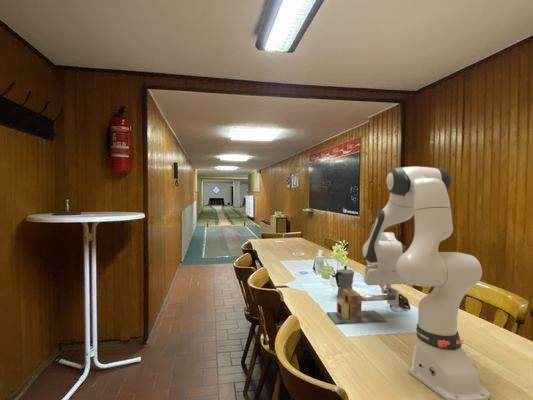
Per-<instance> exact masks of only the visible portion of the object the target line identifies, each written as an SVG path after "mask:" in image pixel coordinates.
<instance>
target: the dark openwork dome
mask: <svg viewBox="0 0 533 400" xmlns="http://www.w3.org/2000/svg"><path fill="white" fill-rule="evenodd" d="M389 307H390V309H391V308H394V307H393V306H391V305H390V304H389ZM400 307H408V309H409V310H411V305H410V301H409V299H408V298H407V297H406V296H405V295H403V294H402V293H399V308H400Z"/></svg>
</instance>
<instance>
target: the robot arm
mask: <svg viewBox="0 0 533 400" xmlns="http://www.w3.org/2000/svg"><path fill="white" fill-rule="evenodd" d="M385 182H386V188H387V190H388V192H389V196H388V201H387V204H386V205H385V206H384V207H383V208H382V209H381V210H379V211H378V212H377V214H376V216H375V218H374V221H373V223H372V225H371V228H370V230H369V233H368V236H367V239H366V240H365V242H364V244H363V245H362V256H363V258H364V260H365V261H366V260H367V261H368V262H370V263H376V265H368V266H367V267H368V268H367V267H366V266H365V267H364V277H363V282H364V284H366V285H367V286H379V288H380V290H381V293H382V295H387V294H388V290H389V289H390V287H392V286H391V285H405V284H407V285H412V286H417V287H433V290H431V291H430V293H428V294H427V295H425V296H423V297H422V298H421V299H420V300H419V302H418V306H417V308H418V309H417V310H418V311H417V312H418V313H417V315H418V316H417V322H418V323H417V324H416V328H415V329H416V337H417V338H416V339H417V340H416V342H415V344H414V346H413V353H412V360H411V366H410V367H409V368H408V373H409V374H411V376H413V377H414V378H416V379H417V380H418V381H420V382H421V383H423V384H424V385H425V386H426V387H428V388H429V389H431V390H432V391H434V392H435V393H436V394H438V395H439V396H440V397H442V398H443V399H444V400H489V399H490V398H491V393H490V392H489V391H488V389H486V387H484V386H483V385H482V384H481V380H480V374H479V371H478V370H477V364H476V363H475V362H473V361H471V360H470V357H469V356H468V355H467V353H466V352H465V351H464V349H463V348H462V345H464V340H463V339H462V340H461V338H460V335H459V331H458V315H459V309H460V305H461V302H462V300H463V299H464V298H465V295H466V294H467V292H469V290H470V289H471V288H472V287H474V286H475V285H476V284H478V283H479V282H480V281H481V280H482V279H481V278H482V276H483V268H482V264H481V263H480V261H479V260H478V259H477V257H476V256H474V255H471V254H469V253H468V254H467V253H464V252H457V251H449V252H448V251H439V246H440V243H441V242H442V241H445V240H446V239H448V238H450V236H451V235H452V234H453V232H454V225H453V216H452V208H451V207H452V206H451V203H450V202H451V201H450V197H449V193H448V191H449V190H450V188H451V186H452V176H451V175H450V173H449V171H448V170H447V169H445V168H443V167H429V166H418V165H417V166H416V165H415V166H414V165H413V166H403V167H401V166H398V167H394V168H391V169H390V170H389V171H388V173H387V175H386V181H385ZM413 216H414V218H413ZM412 218H413V219H414V235H413V239H412V242H411V244H410V246H409V247H408V248H407V247H406V245H404V243H402V242H401V241H398V239H396V236H395V233H394V232H392V231H384V230H386V229H387V228H389V227H391V226H393V225H396V224H401V223H405V222H406V221H408V220H410V219H412ZM406 248H407V249H406ZM385 286H386V287H385Z"/></svg>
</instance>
